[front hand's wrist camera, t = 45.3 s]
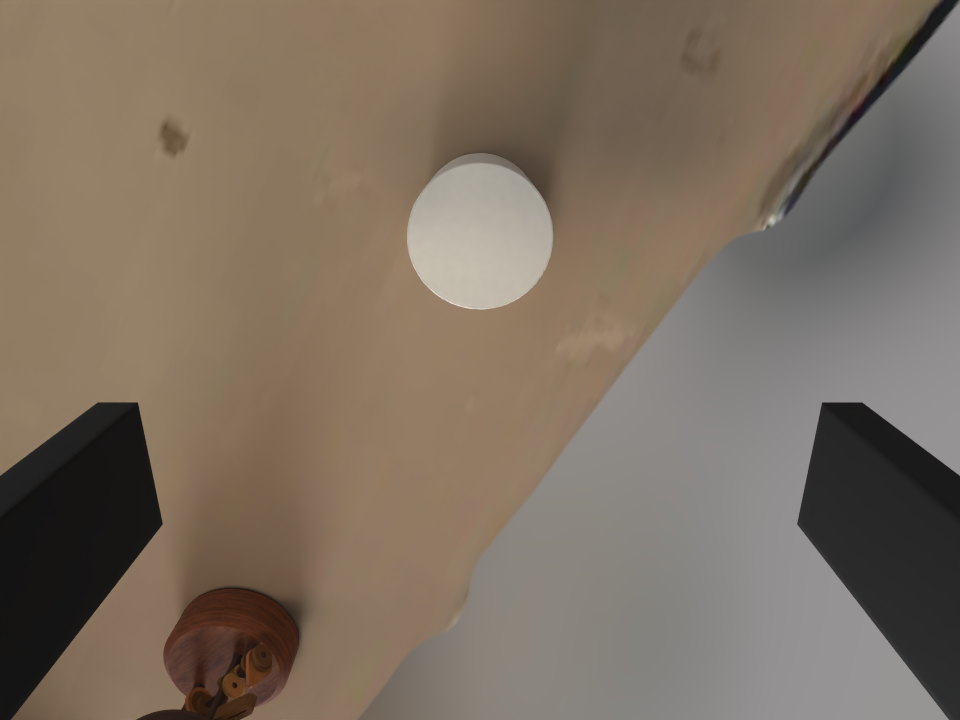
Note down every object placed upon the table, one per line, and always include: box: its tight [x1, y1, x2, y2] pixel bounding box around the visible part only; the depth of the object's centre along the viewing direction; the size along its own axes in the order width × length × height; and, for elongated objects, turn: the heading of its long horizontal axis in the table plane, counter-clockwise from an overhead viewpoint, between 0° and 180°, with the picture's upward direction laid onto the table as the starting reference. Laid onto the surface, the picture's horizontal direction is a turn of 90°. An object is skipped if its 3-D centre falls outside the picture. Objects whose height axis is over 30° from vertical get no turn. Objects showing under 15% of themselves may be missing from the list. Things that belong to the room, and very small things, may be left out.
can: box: [407, 153, 553, 309], centre depth 40 cm, size 8×8×9 cm
